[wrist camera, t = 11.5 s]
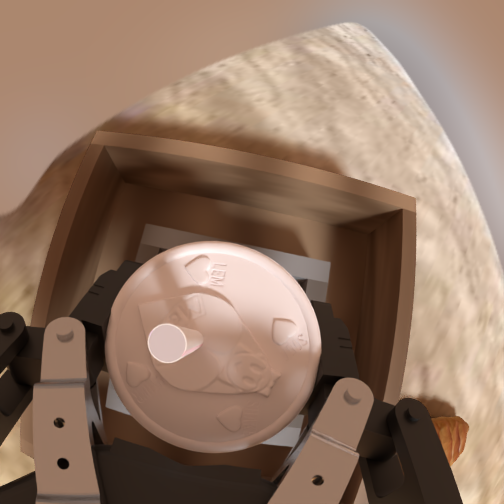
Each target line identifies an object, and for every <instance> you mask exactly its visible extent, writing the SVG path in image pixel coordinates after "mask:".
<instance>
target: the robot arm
mask: <svg viewBox="0 0 504 504" xmlns="http://www.w3.org/2000/svg"><path fill="white" fill-rule="evenodd" d="M142 265H143V264H142V263H138V262H134V261H129V260H125V261H124V262H123V263H122V264H121V266H120V267H119V268H118V269H117V271H115V270H111V269H110V270H109V271H107V272H105V273H103V274H102V275H100V276H99V277H98V279H97V280H96V281H95V282H94V284H93V286H91V288H90V289H89V290H88V293H86V294H85V295H84V297H83V298H82V299H81V301H80V302H79V303H78V305H77V306H76V307H75V309H74V310H73V311H72V313H71V314H70V315H69V317H61V318H58V319H55V320H53V321H52V322H51V323H49V324H48V326H47V327H46V328H43V327H31V326H26V324H25V321H24V319H23V317H22V316H21V315H19V314H18V313H15V312H6V313H3V314H0V374H1V373H2V371H3V370H4V369H5V368H6V367H7V371H6V372H5V373H4V374H3V375H2V377H1V378H0V446H1V444H2V443H3V441H4V440H5V438H6V437H7V435H8V434H9V432H10V431H11V430H12V428H13V427H14V425H15V424H16V422H17V421H18V419H19V418H20V417H21V415H22V414H23V412H24V411H25V410H26V408H27V407H28V405H29V404H30V403H31V401H32V400H33V447H34V462H35V471H33V472H31V473H29V474H27V475H25V476H23V477H21V478H18V479H16V480H14V481H12V482H10V483H7V484H5V485H3V486H0V504H339V502H340V500H341V498H342V495H343V493H344V491H345V489H346V487H347V485H348V482H349V480H350V478H351V476H352V473H353V471H354V469H355V466H356V464H357V461H359V465H360V469H361V473H362V477H363V481H364V486H365V490H366V494H367V498H368V503H369V504H463V502H462V499H461V496H460V493H459V490H458V487H457V484H456V482H455V479H454V476H453V473H452V470H451V468H450V465H449V462H448V459H447V457H446V454H445V452H444V449H443V446H442V444H441V441H440V439H439V436H438V434H437V432H436V429H435V427H434V424H433V422H432V420H431V417H430V415H429V413H428V411H427V409H426V407H425V406H424V405H423V404H422V403H421V402H419V401H417V400H415V399H412V398H405V399H402V400H400V401H399V402H398V403H397V404H396V405H392V404H389V403H386V402H383V401H381V400H378V399H376V398H374V397H373V393H372V391H371V389H370V388H369V387H368V386H367V385H366V384H365V383H364V382H362V381H360V378H359V374H358V369H357V365H356V360H355V356H354V352H353V350H352V348H353V347H352V343H351V341H350V335H349V331H348V328H347V327H346V325H345V324H344V322H343V321H342V320H341V319H340V318H334V316H333V311H332V306H331V304H330V303H325V302H320V301H314V300H311V301H310V303H311V305H312V307H313V309H314V312H315V315H316V318H317V321H318V325H319V330H320V337H321V354H320V362H319V367H318V372H317V377H316V382H315V385H314V389H313V391H312V393H311V395H310V397H309V399H308V401H307V403H306V404H305V406H304V407H303V409H302V410H301V411H300V413H299V414H298V415H308V424H307V425H306V427H305V428H304V430H303V432H302V433H301V435H300V437H299V438H298V440H297V442H296V443H295V445H294V447H293V448H292V450H291V451H290V453H289V455H288V456H287V458H286V459H285V461H284V463H283V464H282V465H281V467H280V468H279V470H278V471H277V472H276V474H275V475H274V476H273V478H272V479H271V480H270V481H268V480H266V479H263V478H261V469H252V468H244V467H237V466H230V465H206V466H186V465H182V464H180V463H178V462H176V461H174V460H172V459H170V458H168V457H166V456H164V455H162V454H160V453H158V452H156V451H154V450H152V449H150V448H148V447H144V446H141V445H138V444H135V443H131V442H128V441H125V440H122V439H119V438H116V437H115V438H114V441H113V444H112V445H108V441H107V437H106V434H105V430H104V425H103V419H102V412H101V405H100V397H99V388H98V381H97V378H98V376H99V374H100V372H101V371H104V372H107V373H108V369H107V364H106V357H105V340H106V332H107V327H108V322H109V318H110V314H111V308H112V306H113V303H114V301H115V299H116V297H117V295H118V293H119V292H120V290H121V288H122V287H123V286H124V284H125V283H126V281H127V280H128V279H129V278H130V277H131V275H132V274H133V273H134V272H135V271H136V270H137V269H139V268H140V267H141V266H142ZM398 457H399V458H398ZM399 460H400V461H399ZM400 463H401V464H400ZM403 473H404V474H403Z"/></svg>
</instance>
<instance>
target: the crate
mask: <svg viewBox="0 0 504 504" xmlns="http://www.w3.org/2000/svg"><path fill="white" fill-rule="evenodd" d="M200 241H221V242H229V243H234V244H239V245H242V246H245V247H248V248H251V249H253V250H256V251H258V252H260V253H262V254H264V255H266V256H268V257H269V258H271V259H272V260H274V261H275V262H277V263H278V264H279V265H280V266H282V267H283V268H284V269H285V270H286V271H287V272H288V273H289V274H290V275H292V277H293V278H294V279H295V280H296V281H297V282H298V284H299V285H300V286H301V288H302V289H303V291H304V292H305V294H306V296H307V297H308V299H309V301H311V300H314V301H320V302H325V303H330V304H331V306H332V311H333V316H334V318H340V319H341V320H342V321H343V322H344V324H345V325H346V327H347V328H348V331H349V335H350V341H351V343H352V347H353V348H352V350H353V352H354V356H355V360H356V365H357V369H358V374H359V378H360V381H362V382H364V383H365V384H366V385H367V386H368V387H369V388H370V389H371V391H372V393H373V397H374V398H376V399H378V400H381V401H383V402H386V403H389V404H392V405H396V404H397V403H398V401H399V397H400V392H401V387H402V382H403V376H404V370H405V364H406V358H407V352H408V345H409V337H410V329H411V320H412V310H413V299H414V286H415V267H416V198H414V197H411V196H408V195H405V194H402V193H399V192H396V191H393V190H390V189H387V188H383V187H380V186H377V185H374V184H371V183H367V182H364V181H361V180H357V179H354V178H350V177H347V176H343V175H340V174H336V173H332V172H329V171H325V170H321V169H317V168H313V167H309V166H305V165H301V164H297V163H293V162H289V161H285V160H280V159H276V158H272V157H267V156H263V155H258V154H253V153H248V152H243V151H238V150H233V149H228V148H223V147H217V146H212V145H206V144H200V143H194V142H188V141H181V140H174V139H167V138H160V137H153V136H145V135H136V134H127V133H118V132H107V131H97V132H96V134H95V136H94V138H93V140H92V142H91V144H90V146H89V148H88V150H87V152H86V154H85V156H84V158H83V161H82V163H81V165H80V167H79V170H78V172H77V174H76V177H75V179H74V181H73V184H72V186H71V189H70V191H69V194H68V196H67V199H66V201H65V204H64V207H63V209H62V212H61V215H60V217H59V220H58V223H57V226H56V229H55V232H54V235H53V238H52V241H51V244H50V248H49V251H48V254H47V258H46V261H45V265H44V268H43V272H42V276H41V280H40V284H39V288H38V292H37V296H36V301H35V305H34V310H33V315H32V320H31V327H43V328H46V327H47V326H48V324H49V323H51V322H52V321H53V320H55V319H58V318H61V317H69V315H70V314H71V313H72V311H73V310H74V309H75V307H76V306H77V305H78V303H79V302H80V301H81V299H82V298H83V297H84V295H85V294H86V293H88V290H89V289H90V288H91V286H93V284H94V282H95V281H96V280H97V279H98V277H99V276H100V275H102V274H103V273H105V272H107V271H109V270H110V269H111V270H115V271H117V269H118V268H119V267H120V266H121V264H122V263H123V262H124V261H125V260H129V261H134V262H138V263H142V264H145V263H146V262H147V261H148V260H150V259H152V258H153V257H155V256H156V255H158V254H160V253H162V252H164V251H166V250H168V249H171V248H173V247H176V246H180V245H183V244H187V243H193V242H200ZM97 381H98V388H99V397H100V405H101V412H102V419H103V425H104V430H105V434H106V437H107V441H108V445H112V444H113V441H114V438H115V437H116V438H119V439H122V440H125V441H128V442H131V443H135V444H138V445H141V446H144V447H148V448H150V449H152V450H154V451H156V452H158V453H160V454H162V455H164V456H166V457H168V458H170V459H172V460H174V461H176V462H178V463H180V464H182V465H186V466H206V465H230V466H237V467H244V468H252V469H261V478H263V479H266V480H268V481H270V480H271V479H272V478H273V476H274V475H275V474H276V472H277V471H278V470H279V468H280V467H281V465H282V464H283V463H284V461H285V459H286V458H287V456H288V455H289V453H290V451H291V450H292V448H293V447H294V445H295V443H296V442H297V440H298V438H299V437H300V435H301V433H302V432H303V430H304V428H305V427H306V425H307V424H308V415H297V416H296V418H295V419H294V420H293V421H292V422H291V423H290V424H289V425H288V426H286V427H285V428H284V429H283V430H282V431H280V432H279V433H278V434H276V435H275V436H273V437H272V438H270V439H268V440H266V441H264V442H262V443H260V444H258V445H255V446H253V447H250V448H247V449H243V450H239V451H234V452H227V453H203V452H196V451H191V450H187V449H184V448H180V447H177V446H175V445H172V444H170V443H168V442H166V441H164V440H162V439H160V438H158V437H157V436H155V435H154V434H152V433H151V432H149V431H148V430H147V429H145V428H144V427H143V426H142V425H141V424H140V423H139V422H137V421H136V420H135V419H134V418H133V416H132V415H131V414H130V413H129V412H128V410H127V409H126V408H125V406H124V405H123V403H122V402H121V400H120V399H119V397H118V395H117V393H116V391H115V389H114V387H113V384H112V382H111V379H110V376H109V373H107V372H104V371H101V372H100V374H99V376H98V378H97ZM20 445H21V452H23V453H25V454H26V455H28V456H30V457H31V458H33V459H34V447H33V400H32V401H31V403H30V404H29V405H28V407H27V408H26V410H25V411H24V412H23V414H22V415H21V424H20ZM339 504H368V498H367V494H366V490H365V486H364V481H363V477H362V473H361V469H360V465H359V461H357V464H356V466H355V469H354V471H353V473H352V476H351V478H350V480H349V482H348V485H347V487H346V489H345V491H344V493H343V495H342V498H341V500H340V502H339Z"/></svg>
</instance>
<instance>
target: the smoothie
mask: <svg viewBox="0 0 504 504" xmlns="http://www.w3.org/2000/svg"><path fill="white" fill-rule="evenodd" d="M320 354H321V337H320V330H319V325H318V321H317V318H316V315H315V312H314V309H313V307H312V305H311V303H310V301H309V299H308V297H307V296H306V294H305V292H304V291H303V289H302V288H301V286H300V285H299V284H298V282H297V281H296V280H295V279H294V278H293V277H292V275H290V274H289V273H288V272H287V271H286V270H285V269H284V268H283V267H282V266H280V265H279V264H278V263H277V262H275V261H274V260H272V259H271V258H269V257H268V256H266V255H264V254H262V253H260V252H258V251H256V250H253V249H251V248H248V247H245V246H242V245H239V244H234V243H229V242H221V241H200V242H193V243H187V244H183V245H180V246H176V247H173V248H171V249H168V250H166V251H164V252H162V253H160V254H158V255H156V256H155V257H153V258H152V259H150V260H148V261H147V262H146V263H145V264H143V265H142V266H141V267H140V268H139V269H137V270H136V271H135V272H134V273H133V274H132V275H131V277H130V278H129V279H128V280H127V281H126V283H125V284H124V286H123V287H122V288H121V290H120V292H119V293H118V295H117V297H116V299H115V301H114V303H113V306H112V308H111V314H110V318H109V322H108V327H107V332H106V340H105V357H106V364H107V369H108V373H109V376H110V379H111V382H112V384H113V387H114V389H115V391H116V393H117V395H118V397H119V399H120V400H121V402H122V403H123V405H124V406H125V408H126V409H127V410H128V412H129V413H130V414H131V415H132V416H133V418H134V419H135V420H136V421H137V422H139V423H140V424H141V425H142V426H143V427H144V428H145V429H147V430H148V431H149V432H151V433H152V434H154V435H155V436H157V437H158V438H160V439H162V440H164V441H166V442H168V443H170V444H172V445H175V446H177V447H180V448H184V449H187V450H191V451H196V452H203V453H227V452H234V451H239V450H243V449H247V448H250V447H253V446H255V445H258V444H260V443H262V442H264V441H266V440H268V439H270V438H272V437H273V436H275V435H276V434H278V433H279V432H280V431H282V430H283V429H284V428H285V427H286V426H288V425H289V424H290V423H291V422H292V421H293V420H294V419H295V418H296V416H297V415H298V414H299V413H300V411H301V410H302V409H303V407H304V406H305V404H306V403H307V401H308V399H309V397H310V395H311V393H312V391H313V389H314V385H315V382H316V377H317V372H318V367H319V362H320Z"/></svg>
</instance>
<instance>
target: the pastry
mask: <svg viewBox="0 0 504 504" xmlns="http://www.w3.org/2000/svg"><path fill="white" fill-rule="evenodd" d="M431 420H432V422H433V424H434V427H435V429H436V432H437V434H438V436H439V439H440V441H441V444H442V446H443V449H444V452H445V454H446V457H447V459H448V462H449V465H450V466H451V465H452V464H453V463H454V462H455V461H456V460H457V458H458V457H459V455H460V454H461V453H462V452H463V450H464V447H465V442H466V436H467V432H468V430H469V426H468V424H467V423H466V422H465V421H464V420H463V419H462V418H460V417H459V416H454V417H444V416H441V417H437V418H431ZM398 458H399V457H398ZM399 461H400V460H399ZM400 464H401V463H400ZM403 474H404V473H403Z"/></svg>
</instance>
